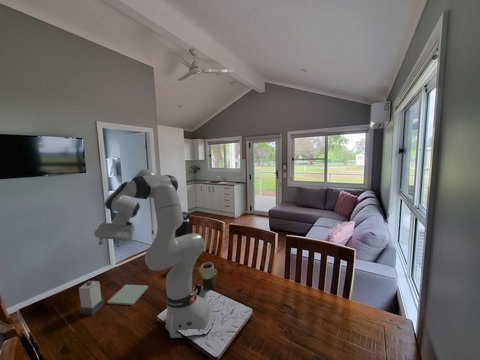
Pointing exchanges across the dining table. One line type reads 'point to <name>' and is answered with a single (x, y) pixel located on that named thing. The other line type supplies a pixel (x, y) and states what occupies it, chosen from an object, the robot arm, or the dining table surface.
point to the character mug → (207, 274)
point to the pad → (128, 294)
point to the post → (91, 310)
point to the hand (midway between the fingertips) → (108, 245)
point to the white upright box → (90, 294)
